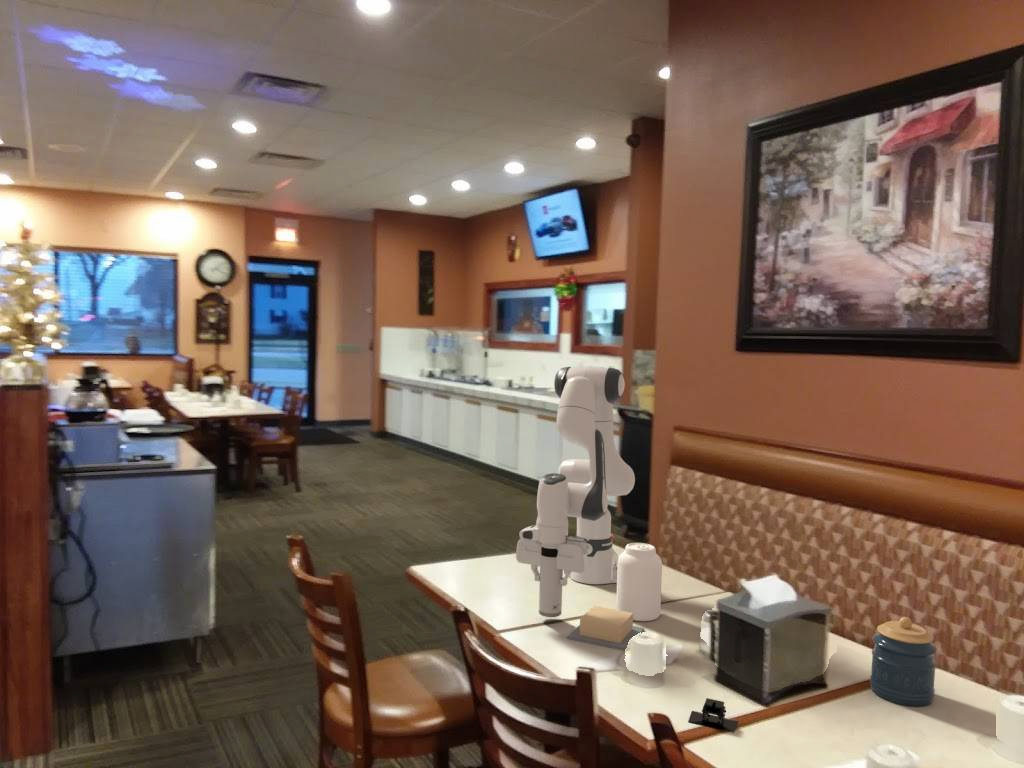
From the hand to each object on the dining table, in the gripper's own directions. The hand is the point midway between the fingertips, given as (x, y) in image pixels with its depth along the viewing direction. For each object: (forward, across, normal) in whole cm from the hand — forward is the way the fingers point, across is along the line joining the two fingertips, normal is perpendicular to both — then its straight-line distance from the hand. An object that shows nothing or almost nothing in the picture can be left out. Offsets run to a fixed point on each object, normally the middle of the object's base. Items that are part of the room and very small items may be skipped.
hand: (550, 582), depth 212 cm
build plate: (+11, -52, +36) cm, 64 cm away
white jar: (+11, -20, -17) cm, 29 cm away
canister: (+11, -87, +2) cm, 88 cm away
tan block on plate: (+11, -17, +2) cm, 20 cm away
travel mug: (+9, 0, 0) cm, 9 cm away
